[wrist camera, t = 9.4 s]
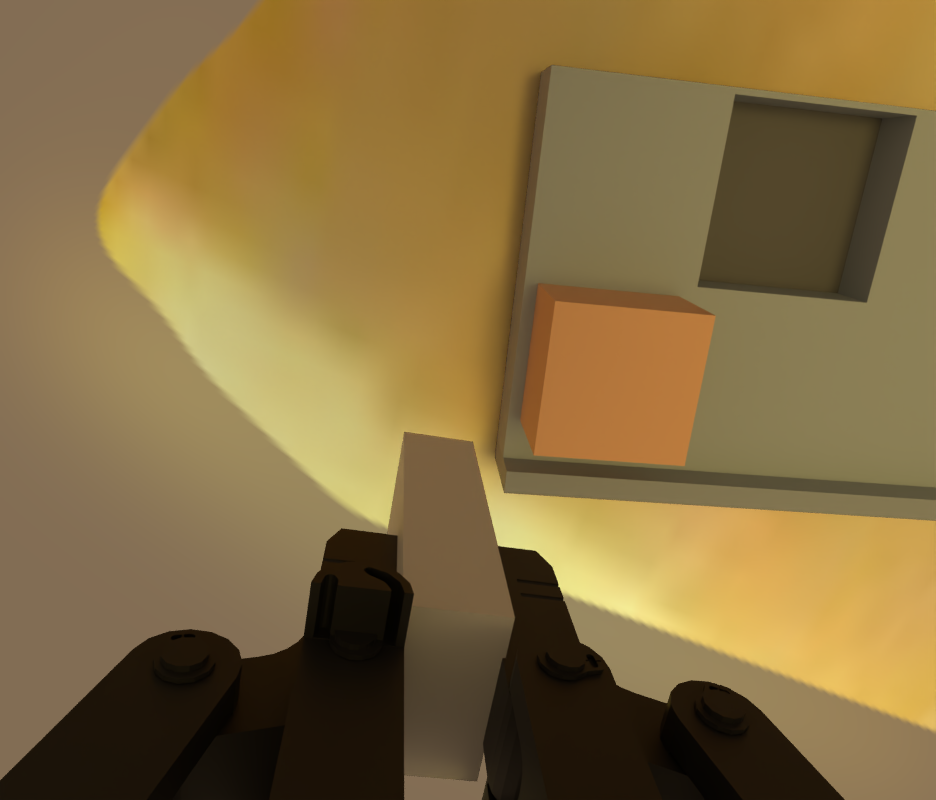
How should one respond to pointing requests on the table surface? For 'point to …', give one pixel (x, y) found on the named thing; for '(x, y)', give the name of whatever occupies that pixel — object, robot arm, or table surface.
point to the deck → (746, 285)
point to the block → (614, 374)
